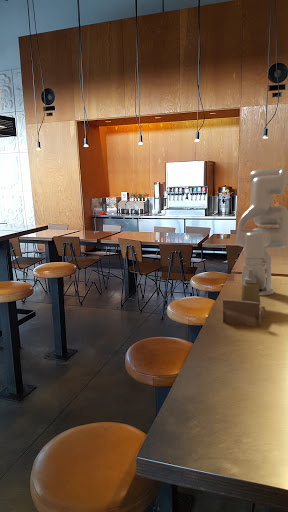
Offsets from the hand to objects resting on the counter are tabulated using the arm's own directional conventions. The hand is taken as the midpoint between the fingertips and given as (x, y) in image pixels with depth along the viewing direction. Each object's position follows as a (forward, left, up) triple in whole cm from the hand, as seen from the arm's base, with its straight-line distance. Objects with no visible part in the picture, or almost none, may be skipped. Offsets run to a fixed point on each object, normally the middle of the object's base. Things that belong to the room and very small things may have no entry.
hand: (253, 303), depth 156 cm
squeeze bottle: (+7, 0, -2) cm, 7 cm away
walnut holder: (+17, 0, -2) cm, 17 cm away
